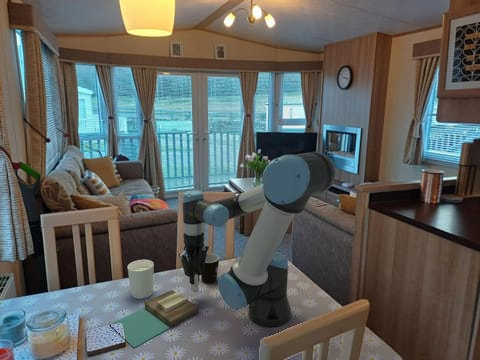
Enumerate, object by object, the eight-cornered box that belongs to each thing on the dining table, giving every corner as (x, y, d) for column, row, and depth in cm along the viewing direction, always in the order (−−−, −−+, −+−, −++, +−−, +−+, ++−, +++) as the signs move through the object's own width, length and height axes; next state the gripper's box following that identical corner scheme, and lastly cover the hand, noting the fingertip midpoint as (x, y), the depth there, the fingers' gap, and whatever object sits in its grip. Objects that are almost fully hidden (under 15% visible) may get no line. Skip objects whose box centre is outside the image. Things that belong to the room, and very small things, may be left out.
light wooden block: (187, 302, 123) (187, 298, 123) (166, 312, 117) (166, 308, 116) (177, 295, 127) (177, 292, 127) (156, 305, 121) (156, 301, 120)
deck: (198, 312, 121) (198, 306, 120) (170, 327, 112) (170, 321, 112) (171, 295, 132) (171, 289, 131) (144, 308, 123) (144, 302, 123)
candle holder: (141, 302, 127) (139, 273, 124) (123, 295, 132) (121, 266, 129) (160, 291, 135) (159, 263, 132) (143, 284, 140) (141, 257, 137)
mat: (169, 328, 112) (169, 327, 112) (134, 348, 103) (134, 347, 103) (143, 309, 123) (143, 308, 123) (109, 325, 113) (109, 324, 113)
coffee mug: (209, 287, 138) (209, 264, 136) (194, 280, 143) (194, 258, 141) (227, 276, 147) (227, 255, 145) (213, 270, 152) (212, 249, 150)
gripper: (200, 225, 131) (201, 280, 136) (173, 234, 122) (174, 293, 127) (213, 230, 126) (213, 287, 131) (186, 239, 117) (187, 301, 122)
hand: (194, 290), depth 129 cm, fingers closed
